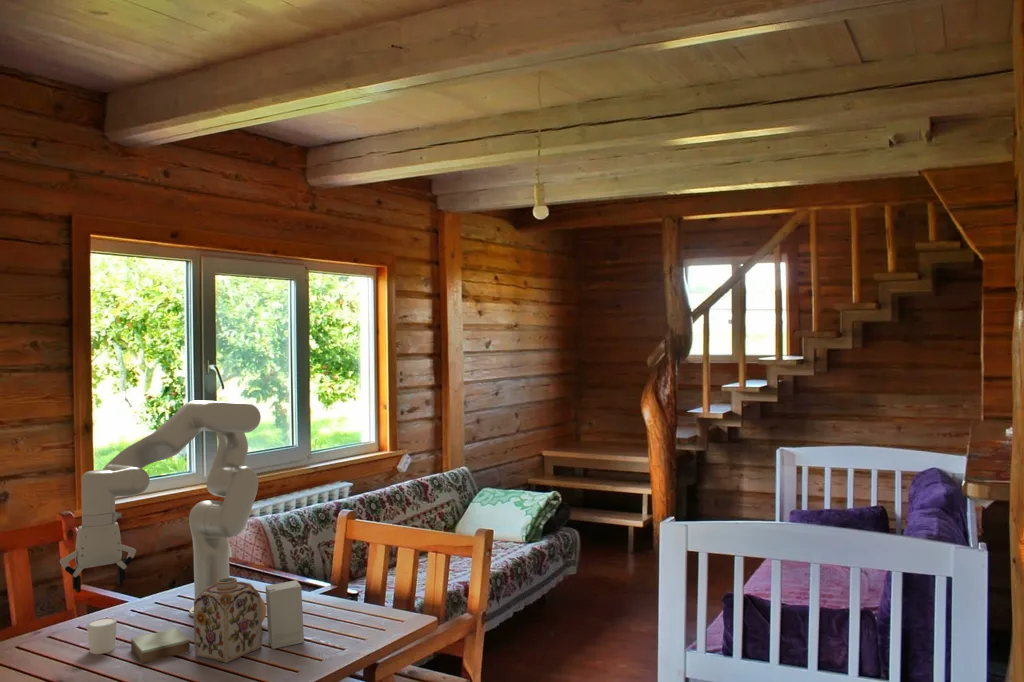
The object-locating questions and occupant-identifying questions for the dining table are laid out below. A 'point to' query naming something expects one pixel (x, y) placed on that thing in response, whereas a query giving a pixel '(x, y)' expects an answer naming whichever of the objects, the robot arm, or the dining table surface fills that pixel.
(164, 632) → the plinth
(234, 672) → the dining table surface
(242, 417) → the robot arm
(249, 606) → the decorative jar
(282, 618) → the skincare box
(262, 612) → the egg
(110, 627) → the beige cylinder
